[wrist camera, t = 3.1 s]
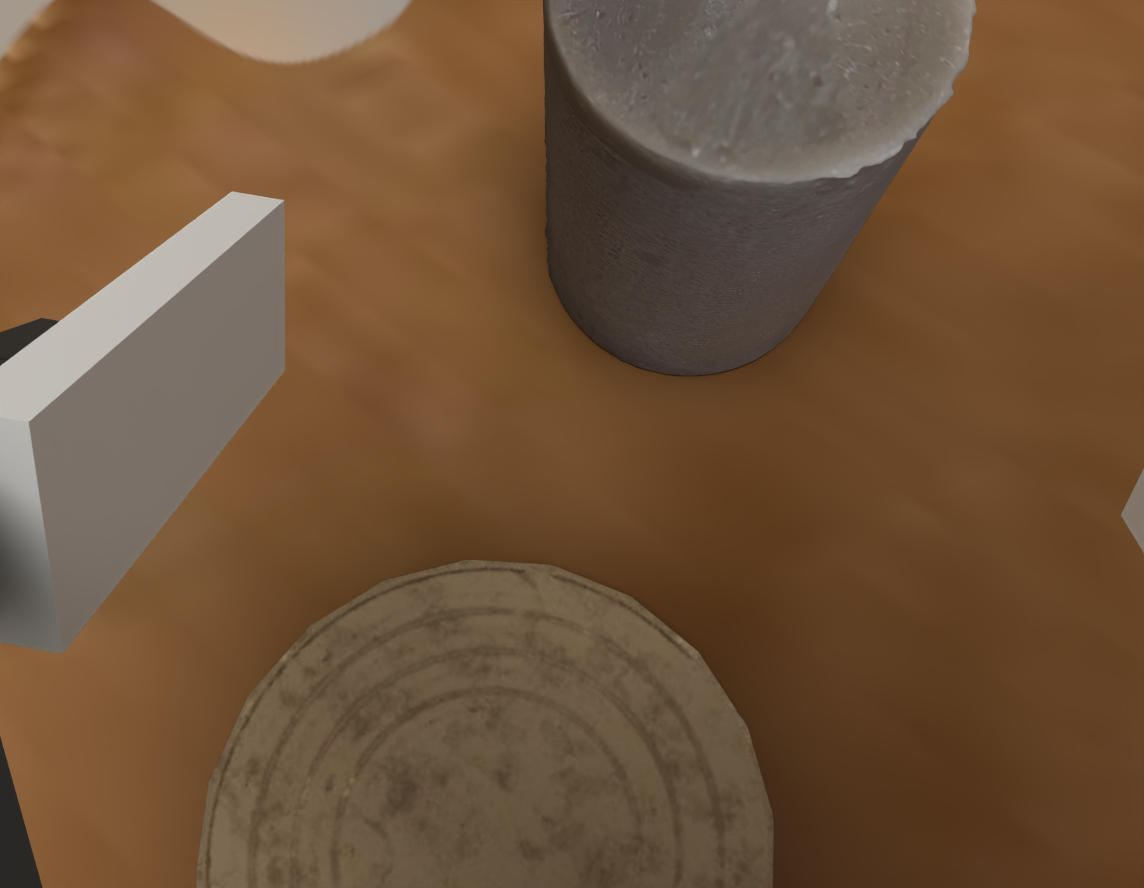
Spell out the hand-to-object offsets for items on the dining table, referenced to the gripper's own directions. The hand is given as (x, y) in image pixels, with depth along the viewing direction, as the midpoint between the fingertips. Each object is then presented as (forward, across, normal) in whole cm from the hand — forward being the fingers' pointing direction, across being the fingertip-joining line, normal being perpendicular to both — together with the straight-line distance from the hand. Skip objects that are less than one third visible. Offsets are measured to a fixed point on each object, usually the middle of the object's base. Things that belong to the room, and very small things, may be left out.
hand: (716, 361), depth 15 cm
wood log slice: (+7, +3, +20) cm, 22 cm away
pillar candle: (+21, 0, +6) cm, 22 cm away
